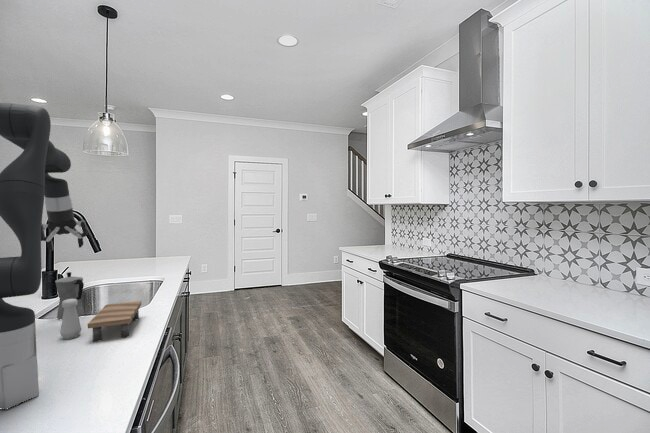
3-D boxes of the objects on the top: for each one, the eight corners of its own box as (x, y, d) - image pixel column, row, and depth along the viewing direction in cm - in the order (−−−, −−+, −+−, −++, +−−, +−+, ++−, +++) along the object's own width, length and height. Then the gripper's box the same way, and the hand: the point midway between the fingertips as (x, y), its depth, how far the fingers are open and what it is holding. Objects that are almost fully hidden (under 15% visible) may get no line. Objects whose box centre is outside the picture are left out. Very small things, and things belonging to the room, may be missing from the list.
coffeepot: (48, 317, 132) (46, 273, 131) (74, 310, 140) (72, 268, 140) (70, 322, 125) (68, 276, 125) (96, 315, 134) (94, 271, 133)
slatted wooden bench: (130, 337, 110) (129, 318, 110) (88, 343, 106) (87, 323, 106) (141, 316, 131) (141, 300, 131) (107, 320, 127) (106, 304, 127)
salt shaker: (69, 341, 108) (67, 302, 108) (55, 339, 110) (53, 301, 109) (85, 334, 114) (84, 297, 114) (72, 333, 115) (70, 296, 115)
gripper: (31, 212, 113) (40, 255, 117) (82, 208, 120) (88, 249, 125) (36, 206, 119) (44, 247, 124) (84, 203, 126) (90, 242, 131)
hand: (66, 248), depth 124 cm, fingers open, 8 cm apart
